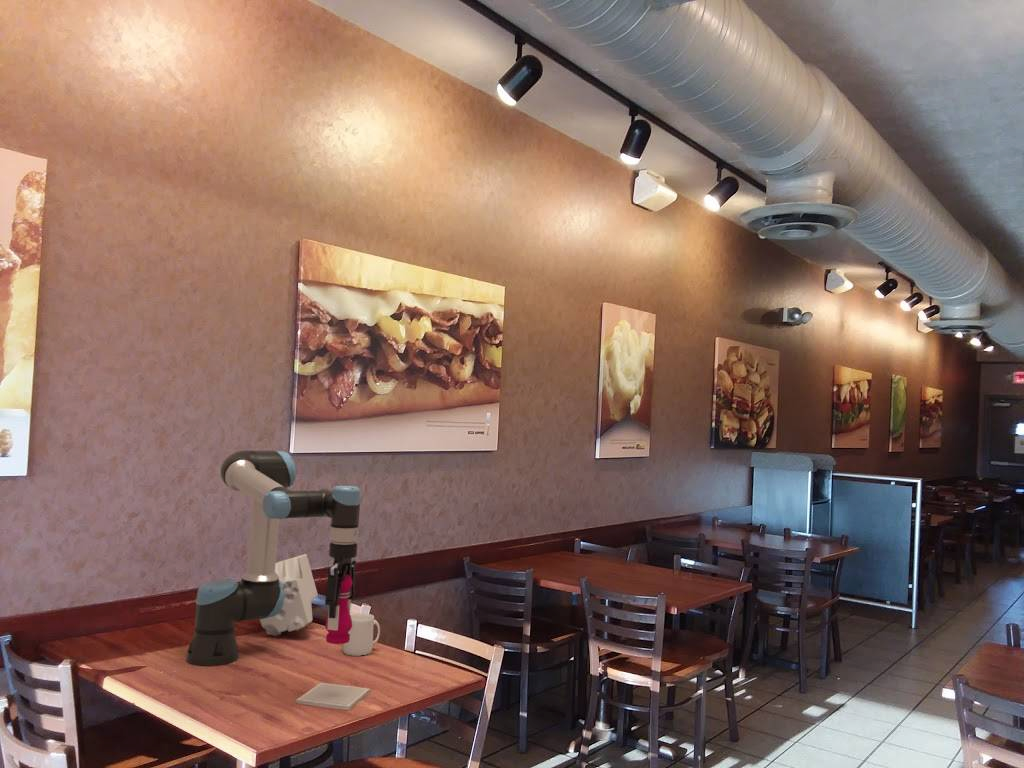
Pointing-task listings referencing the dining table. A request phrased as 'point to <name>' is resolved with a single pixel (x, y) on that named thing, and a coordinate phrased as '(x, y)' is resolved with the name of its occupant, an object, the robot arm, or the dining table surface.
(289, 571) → the white sculpture
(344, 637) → the pepper mill
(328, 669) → the dining table surface
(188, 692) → the dining table surface
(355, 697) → the plate
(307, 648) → the dining table surface
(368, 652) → the mug
